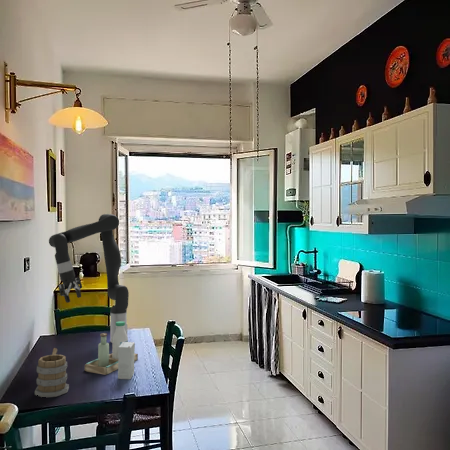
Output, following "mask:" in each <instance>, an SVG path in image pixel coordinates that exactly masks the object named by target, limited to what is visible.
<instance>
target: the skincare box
mask: <svg viewBox="0 0 450 450" xmlns="http://www.w3.org/2000/svg"><path fill="white" fill-rule="evenodd" d="M135 345H136V343H135V342H134V341H128V342H122V344H121V345H120V346H119V357H118V369H117V379H118V380H131V379H132V377H133V375H134V374H135V361H134V354H136V353H135V351H136V348H135Z"/></svg>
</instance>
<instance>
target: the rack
mask: <svg viewBox="0 0 450 450" xmlns="http://www.w3.org/2000/svg"><path fill="white" fill-rule="evenodd" d="M138 357H139V355H138V353H135V354H134V362H136V361H139V358H138ZM116 371H118V359H113V358H112V353H109V366H106V367H100V366H98V358H96V359H93V360H92V361H89V362H86V364H84V372H88V373H94V374H99V375H105V376H106V375H107V376H108V375H109V374H111V373H113V372H116Z"/></svg>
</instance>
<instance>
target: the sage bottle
mask: <svg viewBox="0 0 450 450" xmlns="http://www.w3.org/2000/svg"><path fill="white" fill-rule="evenodd" d="M99 335H100V343H97V344H98V346H97V349H98V350H97V353H98V354H97V357H98V358H97V359H98V366H100V367H106V366H109V354H110V342H107V336H108V333H106V332H103V333H100V334H99Z"/></svg>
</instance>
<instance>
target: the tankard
mask: <svg viewBox="0 0 450 450" xmlns="http://www.w3.org/2000/svg"><path fill="white" fill-rule="evenodd" d="M66 358H67V356H66V355H63V354H58V348H56V347H53V349H52V353H51V354H49V355H44V356H41V357H40V358H39V359H38V362H37V363H38V364H37V365H36V373H37V374H38V376H37V378H36V385H37V386H36V388H35V390H34V396H37V395H38V396H37V397H40V398H42V397H46V398H56V397H60V396H61V395H62V396H63V395H65V394H67V393H68V391H69V389H70V384H68V383H67V379H68V373H67V368H68V361H66V360H67V359H66Z"/></svg>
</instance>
